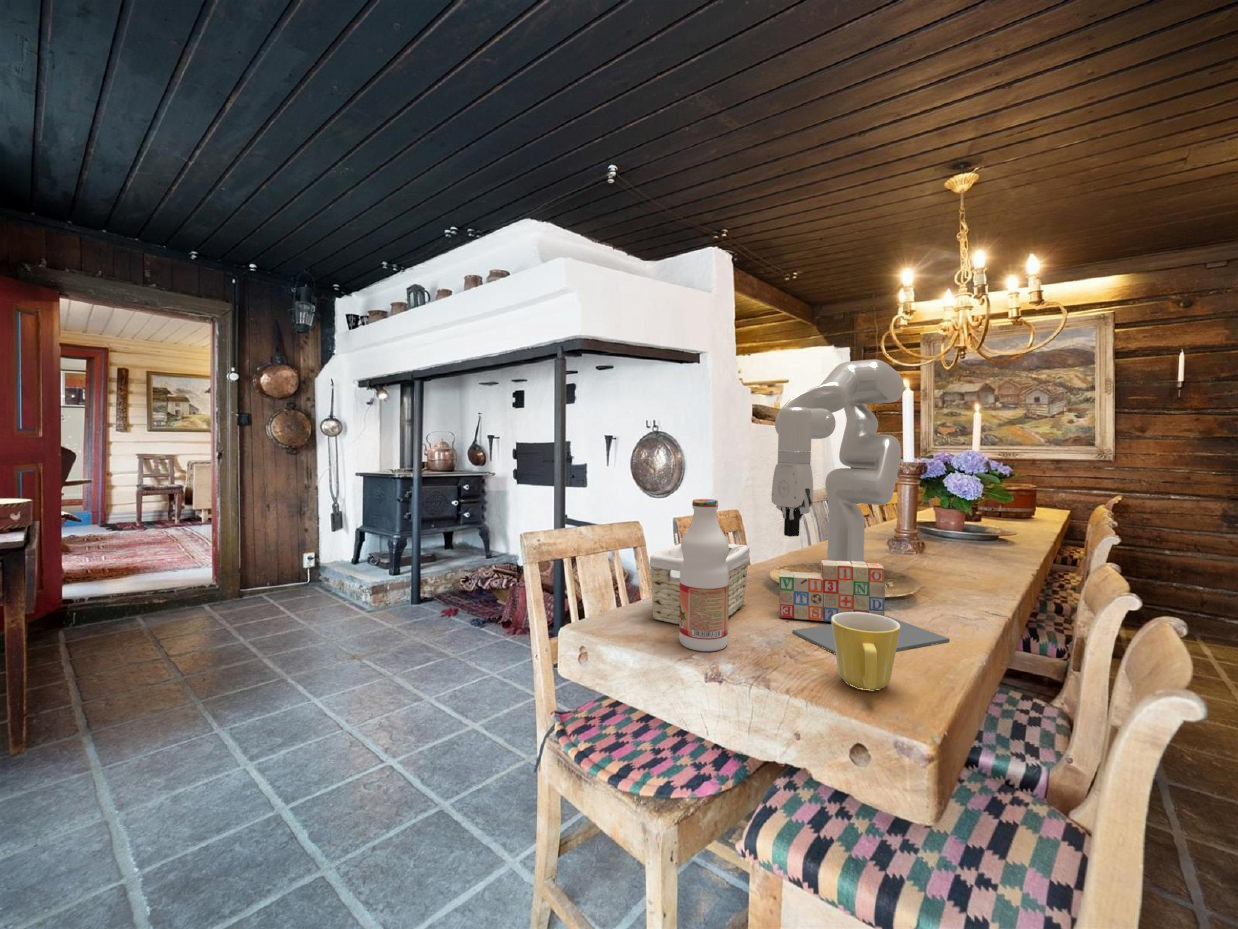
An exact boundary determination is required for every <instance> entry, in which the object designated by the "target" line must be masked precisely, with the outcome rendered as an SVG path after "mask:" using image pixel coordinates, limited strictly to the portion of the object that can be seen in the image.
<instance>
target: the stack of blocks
mask: <svg viewBox="0 0 1238 929" xmlns="http://www.w3.org/2000/svg"><path fill="white" fill-rule="evenodd" d="M820 563H821V566H820V573H817V572H799V571H782V570H779V575H778V577H779V579H778V580H779V581H778V582H779V584H778V586H779V587H778V588H779V589H778V590H779V591H778V592H779V593H778V596H779V597H778V598H779V599H778V601H779V609H778V610H779V612H778V613H779V618H783V619H784V618H786V619H795V620H809V621H821V622H822V621H823V622H831V618H832V616H834V615H835V614H838V613H844V612H862V613H870V614H876V615H880V616H884V617H885V616H886V615H885V603H886V602H885V600H886V599H885V597H886V583H885V568H884V566H883V565H882V564H881V563H880V562H865V561H864V562H860V561H850V562H849V561H828V560H827V559H824V560H823V559H822V560H820Z"/></svg>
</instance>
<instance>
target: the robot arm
mask: <svg viewBox="0 0 1238 929" xmlns="http://www.w3.org/2000/svg"><path fill="white" fill-rule="evenodd" d="M904 390H905V384H904V380H903V377H902V375H900V373H899V372H898V371H897V370H896V369H894V368H893V367H892V366H891V365H889V364H888V363H886V362H885V361H883V360H881V359H862V360H853V361H851V360H850V361H846V362H842V363H840V364H837V366H835V367H834V369H832V371H831V372H830V373H829V375H827V377H826V378H825V379H824V380H823V381H822V382H821V384H820V385H818V386H815V387H813V388H810V389H808V390H807V391H803V392H801V393H799V394H797V395H795V396H793V397H792V398H790V399H789V400H788V401H787V402H786V403H785V404H784V405H783V406H782V407H781V408H780V410H779V411H778V413H777V415H776V417H775V421H774V429H775V431H776V434H778V435H777V436H778V438H777V439H778V440H777V463H776V464H775V468H774V471H773V477H772V486H771V487H772V488H771V502H772V503H773V505H775V507H776V509H778V510H779V511H781V513H782V518H783V519H784V522H783V523H784V524H783V534H784V536H786V537H799V536H800V524H801V523H800V521H801V520H802V519H803V515H805V514H810V507H812V506H813V502H814V479H813V470H812V465H811V458H812V457H811V456H812V453H811V452H812V440H820V439H821V440H822V439H827V438H829V437H830V436H831V435H832V434H833V433H834V431H835V429H836V424H837V422H836V418H835V416H834V414H833V413H835V412H839V411H841V410H844V413H845V418H846V423H845V428H844V432H843V436H842V440H841V444H840V446H839V447H840V448H839V456H838V457H839V458H838V459H839V462H840V463H841V465H843V466H845V467H840V468H835V469H833V470H831V471H830V472H829V473H828V474H827V475H826V477H825V484H824V485H825V492H826V497H827V498H826V499H827V506H828V508H827V509H828V510H827V512H828V517H827V518H828V521H827V523H828V524H827V558H826V560H828V561H849V562H850V561H860V562H865V561H864V560H865V526H866V520H865V519H866V518H865V516H864V513H863V511H862V510H861V508H860V506H859V505H858V504H861V505H863V504H864V505H876V506H877V505H878V506H883V505H887V504H889V502H890V501H891V500H892V498H893V495H894V491H895V487H896V482H897V478H898V473H899V467H900V464H901V459H902V447H901V442H900V441H899V439H898V438H897V437H895V436H894V435H890V434H877V432H878V428H879V421H878V418H877V416H876V415H875V414H874V413H873V411H872V410H870V408H868V406H867V405H866V404H891V403H895V402H897V401H899V400H900V399H901V398H902V396H903V395H904V394H903V393H904ZM819 567H821V562H819Z"/></svg>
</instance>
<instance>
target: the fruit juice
mask: <svg viewBox="0 0 1238 929" xmlns="http://www.w3.org/2000/svg"><path fill="white" fill-rule="evenodd" d="M691 505H692V509H693V515H692V518H691V522H690V525H689V527H688V530H687V531H686V532H685V534H684V535H683V537H682V539H681V543H680V544H681V551H682V555H683V563H682V566H681V570H680V616H679V624H678V625H679V627H678V628H679V630H678V631H679V633H678V638H679V643H680V644H681V645H682V646H683V647H684V648H687V649H690V650H693V651H696V652H716V651H721V650H723V649H725V648H726V647H727V645H728V642H729V617H728V610H729V571H728V567H727V565H726V558H727V555H728V550H729V545H728V544H729V541H728V538H727V536H726V535H725V533H724V532H723V530H722V527H721V526H720V522H719V518H718V515H717V514H718V513H717V510H718V509H719V500H717V499H713V498H696V499H693V500H692V504H691Z"/></svg>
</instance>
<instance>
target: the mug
mask: <svg viewBox="0 0 1238 929" xmlns="http://www.w3.org/2000/svg"><path fill="white" fill-rule="evenodd" d="M884 616H885V615H884ZM884 616H880V615H876V614H870V613H862V612H844V613H838V614H835V615H834V616H832V618H831V621H830V624H832V631H833V638H834V645H835V652H836V655H835V657H836V665H837V666H836V668H837V672H838V674H839V676H840V677H841V679H842V680H843V681H844V682H845V683H846V682H847V683H848V684H851V685H853V686H855V687H857V688H863V689H870V690H876V689H881V688H883V689H884V688H885V687H886V686H888V685H889V683H890V682H891V680H892V675H893V674H892V673H893V668H894V663H895V657H896V653H897V651H896V649H897V644H898V638H899V632H900V624H899V623H898V622H896V621H895V620H892V619H890V618H887V617H884ZM848 684H847V685H848ZM881 690H882V689H881Z"/></svg>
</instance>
